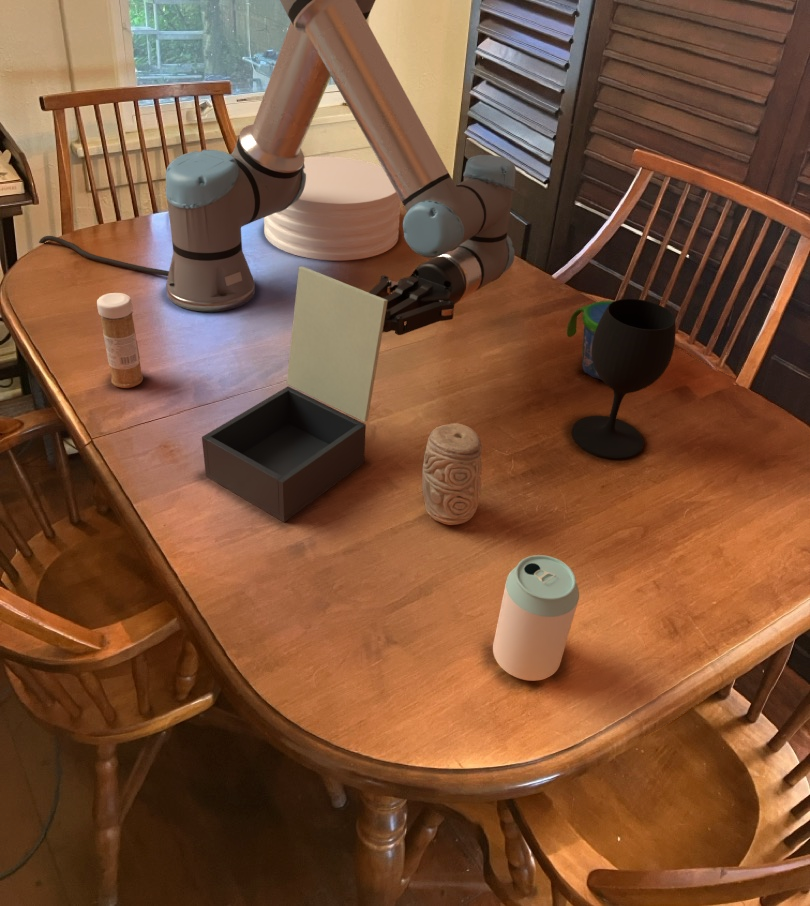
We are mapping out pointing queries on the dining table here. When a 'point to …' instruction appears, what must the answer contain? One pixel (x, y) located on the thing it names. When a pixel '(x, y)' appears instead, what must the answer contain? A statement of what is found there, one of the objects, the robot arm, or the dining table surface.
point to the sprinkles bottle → (120, 339)
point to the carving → (452, 473)
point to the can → (535, 617)
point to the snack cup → (588, 332)
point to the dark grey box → (284, 452)
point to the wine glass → (625, 371)
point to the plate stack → (338, 212)
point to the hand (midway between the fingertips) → (345, 338)
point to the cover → (335, 342)
